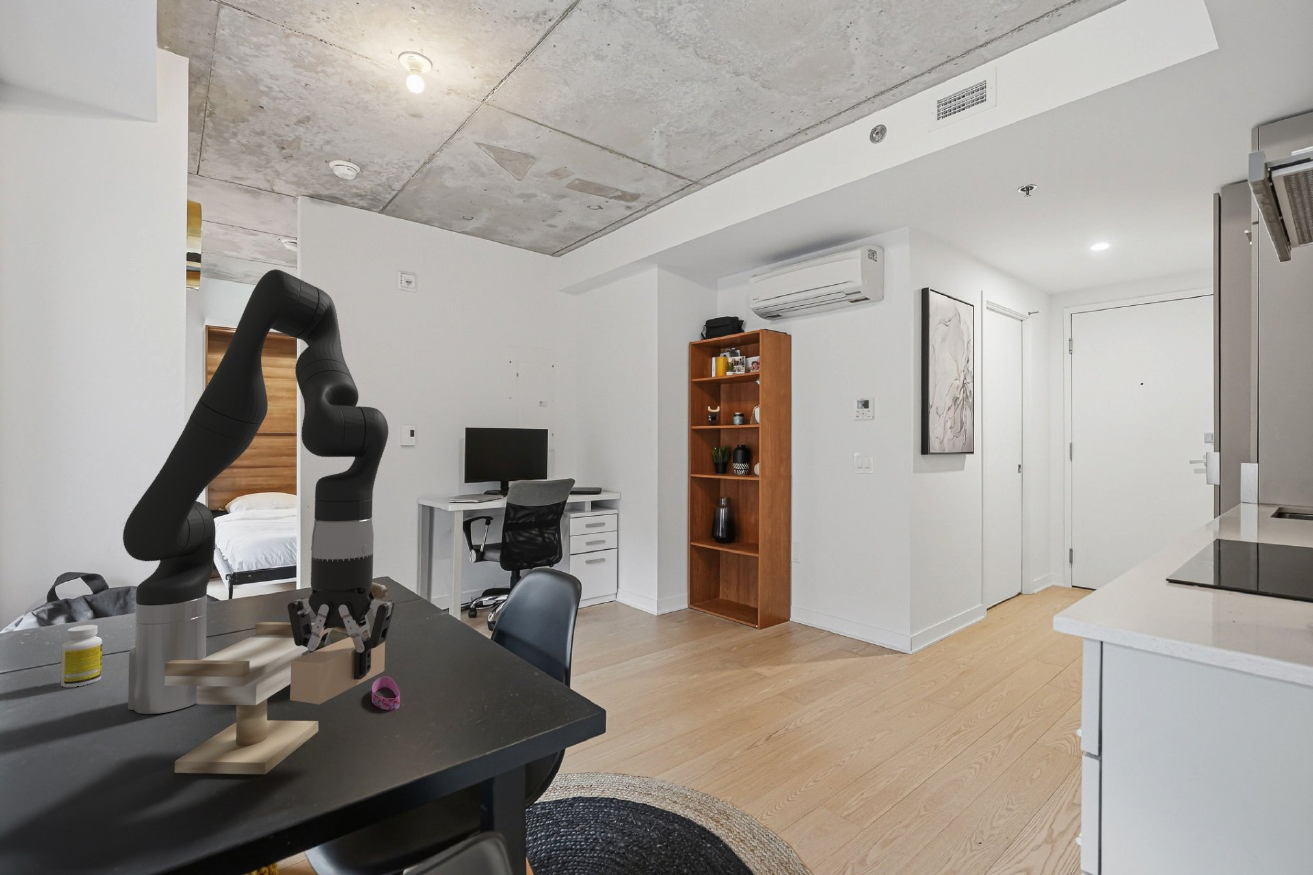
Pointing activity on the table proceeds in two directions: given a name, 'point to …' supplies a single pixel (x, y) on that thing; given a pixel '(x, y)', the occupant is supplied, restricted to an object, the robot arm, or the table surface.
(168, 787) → the table surface
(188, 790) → the table surface
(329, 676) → the tan block
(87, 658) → the supplement bottle
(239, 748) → the display stand
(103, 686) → the table surface
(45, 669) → the table surface
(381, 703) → the headband
